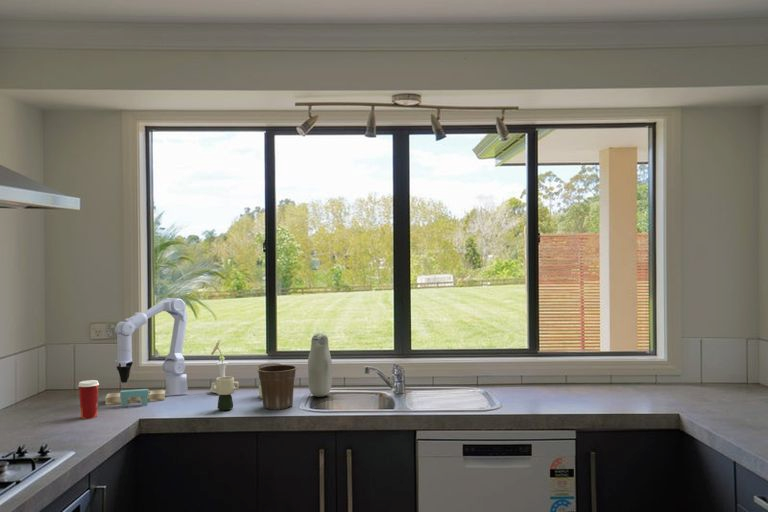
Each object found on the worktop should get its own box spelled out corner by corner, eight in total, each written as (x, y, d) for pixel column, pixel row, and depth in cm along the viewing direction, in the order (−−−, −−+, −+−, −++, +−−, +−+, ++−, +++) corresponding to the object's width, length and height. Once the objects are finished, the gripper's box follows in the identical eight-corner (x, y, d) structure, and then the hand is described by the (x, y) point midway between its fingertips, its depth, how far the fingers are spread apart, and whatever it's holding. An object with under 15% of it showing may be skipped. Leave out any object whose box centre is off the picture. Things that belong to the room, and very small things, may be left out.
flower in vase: (215, 389, 305) (215, 337, 305) (238, 390, 303) (238, 337, 303) (204, 395, 292) (203, 340, 292) (228, 396, 290) (227, 340, 290)
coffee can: (269, 393, 296) (269, 362, 296) (286, 395, 290) (286, 364, 290) (253, 397, 287) (253, 365, 287) (271, 399, 281) (270, 367, 281)
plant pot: (261, 412, 258) (261, 372, 258) (254, 404, 273) (253, 366, 273) (301, 408, 264) (300, 369, 264) (292, 400, 279) (291, 363, 279)
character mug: (239, 407, 269) (238, 375, 269) (238, 410, 262) (238, 378, 262) (212, 408, 266) (211, 377, 266) (211, 412, 259) (210, 380, 259)
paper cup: (104, 415, 256) (103, 380, 256) (87, 420, 249) (87, 384, 250) (90, 414, 260) (89, 379, 260) (73, 418, 253) (73, 382, 253)
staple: (148, 403, 277) (148, 388, 277) (148, 405, 274) (148, 390, 274) (120, 405, 274) (120, 390, 274) (120, 407, 271) (120, 392, 271)
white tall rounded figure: (304, 397, 286) (303, 334, 286) (319, 393, 294) (318, 331, 295) (321, 399, 280) (320, 335, 281) (336, 395, 289) (335, 333, 289)
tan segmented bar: (164, 396, 292) (164, 389, 292) (164, 400, 284) (164, 393, 284) (107, 400, 285) (107, 393, 285) (105, 404, 276) (105, 397, 276)
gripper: (116, 347, 285) (116, 378, 284) (112, 352, 271) (113, 384, 271) (133, 347, 287) (133, 377, 287) (130, 351, 273) (131, 383, 273)
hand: (125, 380), depth 279 cm, fingers open, 7 cm apart
